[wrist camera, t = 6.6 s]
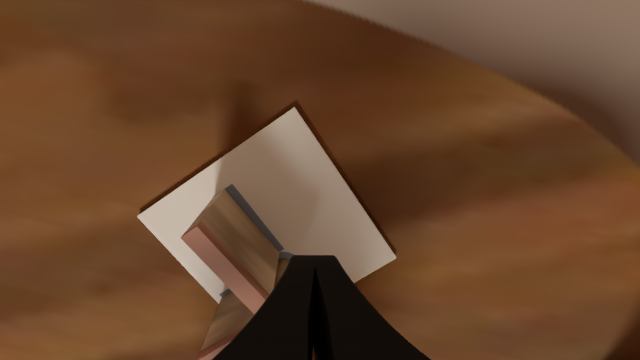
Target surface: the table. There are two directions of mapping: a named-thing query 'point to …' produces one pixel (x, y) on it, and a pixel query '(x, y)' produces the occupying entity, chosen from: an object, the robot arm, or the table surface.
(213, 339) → the fixed panel
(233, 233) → the folding panel
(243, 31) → the table surface
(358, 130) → the table surface
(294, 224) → the card
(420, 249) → the table surface
